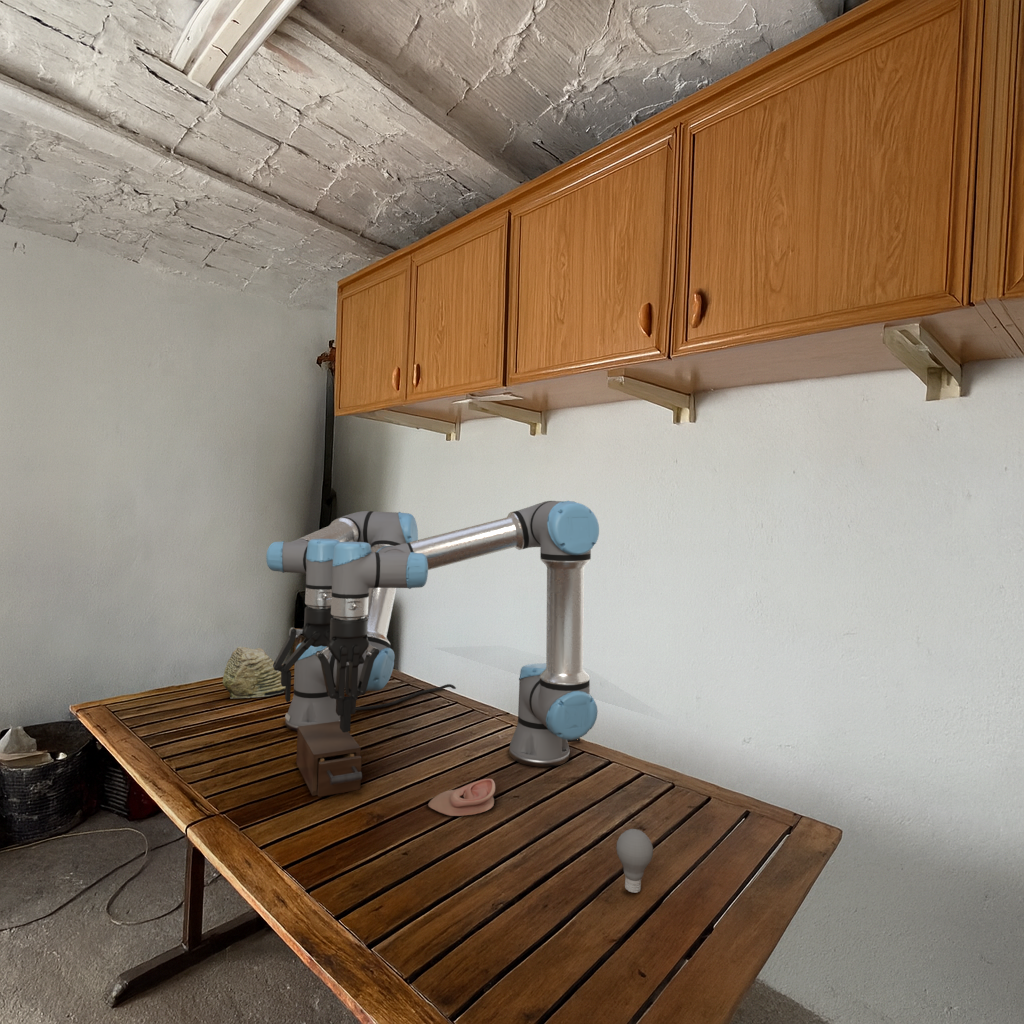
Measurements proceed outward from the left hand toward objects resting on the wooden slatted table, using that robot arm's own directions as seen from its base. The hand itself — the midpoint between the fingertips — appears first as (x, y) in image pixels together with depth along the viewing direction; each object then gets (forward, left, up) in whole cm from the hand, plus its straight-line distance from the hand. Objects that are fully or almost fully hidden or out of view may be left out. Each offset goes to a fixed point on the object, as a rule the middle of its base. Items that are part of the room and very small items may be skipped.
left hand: (318, 697), depth 147 cm
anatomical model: (-11, +36, -17) cm, 42 cm away
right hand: (+6, +18, -2) cm, 19 cm away
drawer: (+3, +10, -16) cm, 19 cm away
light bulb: (-9, +77, -17) cm, 80 cm away
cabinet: (0, +5, -17) cm, 17 cm away
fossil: (-18, -59, -17) cm, 64 cm away
